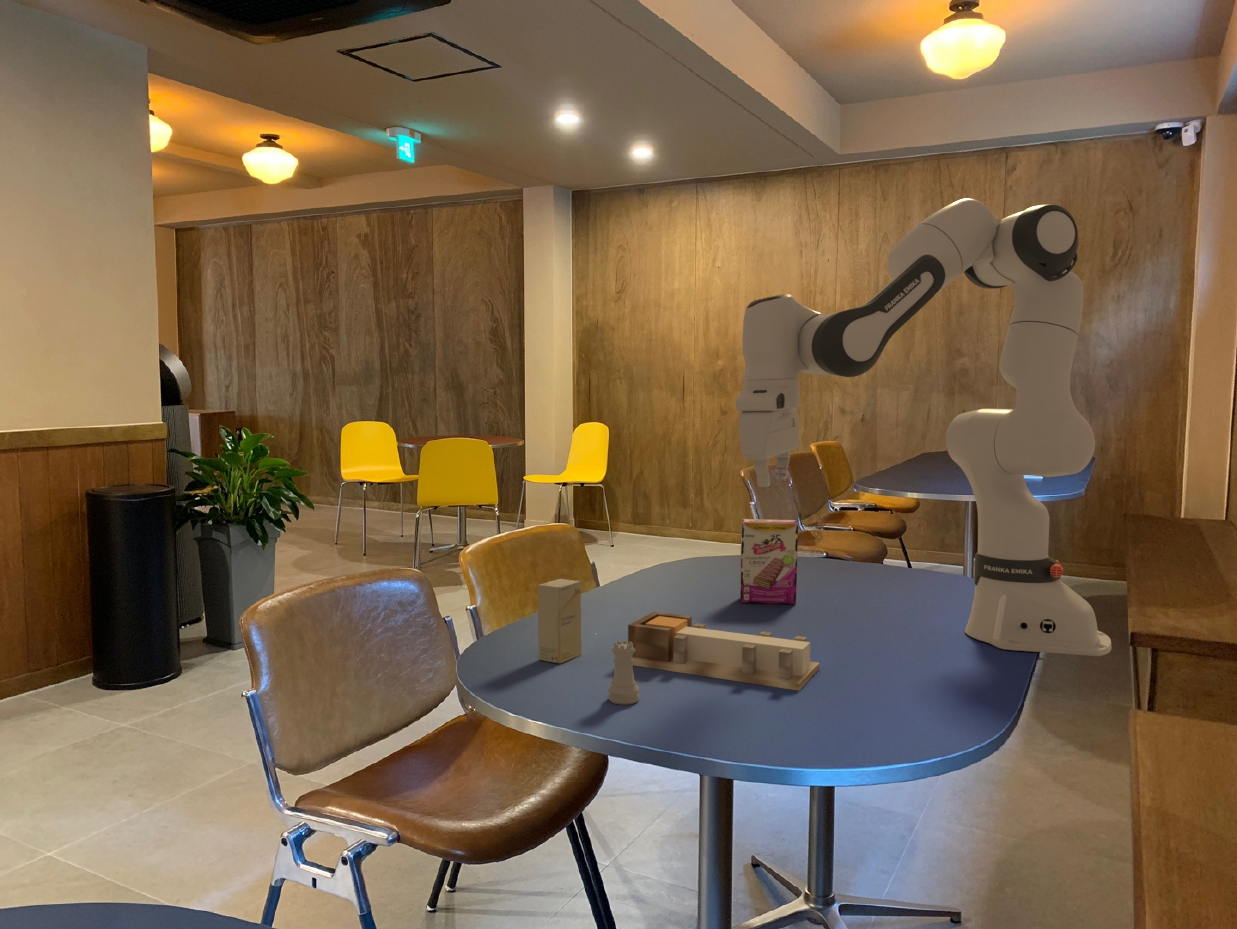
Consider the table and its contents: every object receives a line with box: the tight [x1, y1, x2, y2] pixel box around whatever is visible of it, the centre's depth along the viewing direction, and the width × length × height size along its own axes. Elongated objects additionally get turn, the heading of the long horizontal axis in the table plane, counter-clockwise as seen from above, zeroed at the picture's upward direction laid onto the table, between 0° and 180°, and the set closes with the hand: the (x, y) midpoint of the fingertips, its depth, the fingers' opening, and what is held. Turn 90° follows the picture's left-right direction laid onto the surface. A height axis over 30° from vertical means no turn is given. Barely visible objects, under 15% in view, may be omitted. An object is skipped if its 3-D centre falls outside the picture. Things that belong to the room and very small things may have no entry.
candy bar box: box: [739, 518, 799, 605], centre depth 181 cm, size 11×5×16 cm, turn 84°
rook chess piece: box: [607, 640, 641, 706], centre depth 124 cm, size 4×4×8 cm
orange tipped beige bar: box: [646, 616, 811, 676], centre depth 139 cm, size 25×5×5 cm, turn 63°
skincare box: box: [537, 578, 582, 664], centre depth 144 cm, size 6×4×12 cm
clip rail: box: [627, 611, 820, 692], centre depth 139 cm, size 28×11×6 cm, turn 63°
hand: (772, 482), depth 147 cm, fingers open, 8 cm apart
